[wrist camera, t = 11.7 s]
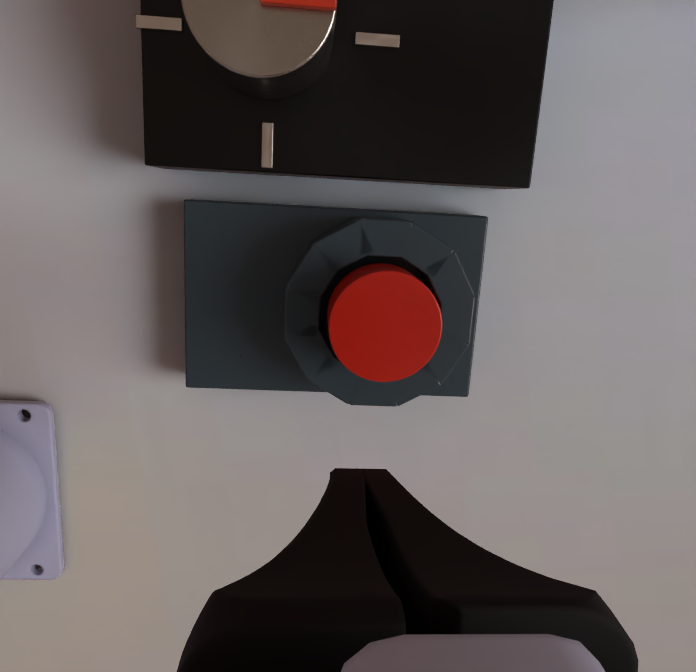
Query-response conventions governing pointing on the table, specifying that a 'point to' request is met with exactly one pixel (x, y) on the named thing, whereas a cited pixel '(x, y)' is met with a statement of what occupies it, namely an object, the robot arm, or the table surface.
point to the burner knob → (265, 41)
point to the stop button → (383, 322)
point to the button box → (318, 294)
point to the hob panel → (362, 97)
